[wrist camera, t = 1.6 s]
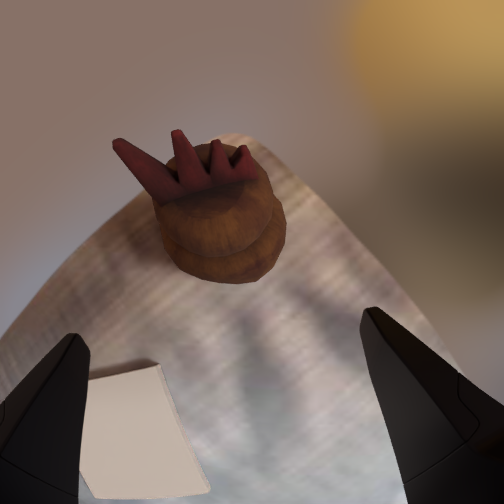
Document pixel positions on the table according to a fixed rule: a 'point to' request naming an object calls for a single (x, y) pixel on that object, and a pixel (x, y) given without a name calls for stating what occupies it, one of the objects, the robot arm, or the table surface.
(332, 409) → the table surface
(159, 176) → the wooden figurine
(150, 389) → the display tile
